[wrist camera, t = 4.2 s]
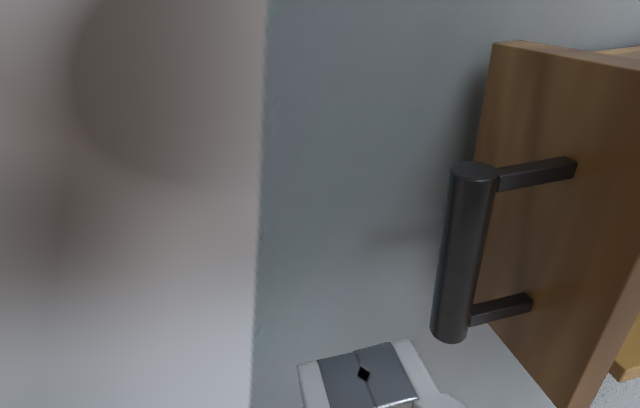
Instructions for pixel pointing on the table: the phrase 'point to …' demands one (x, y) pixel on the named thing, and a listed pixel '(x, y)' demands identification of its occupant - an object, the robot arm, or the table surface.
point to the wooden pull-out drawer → (550, 219)
